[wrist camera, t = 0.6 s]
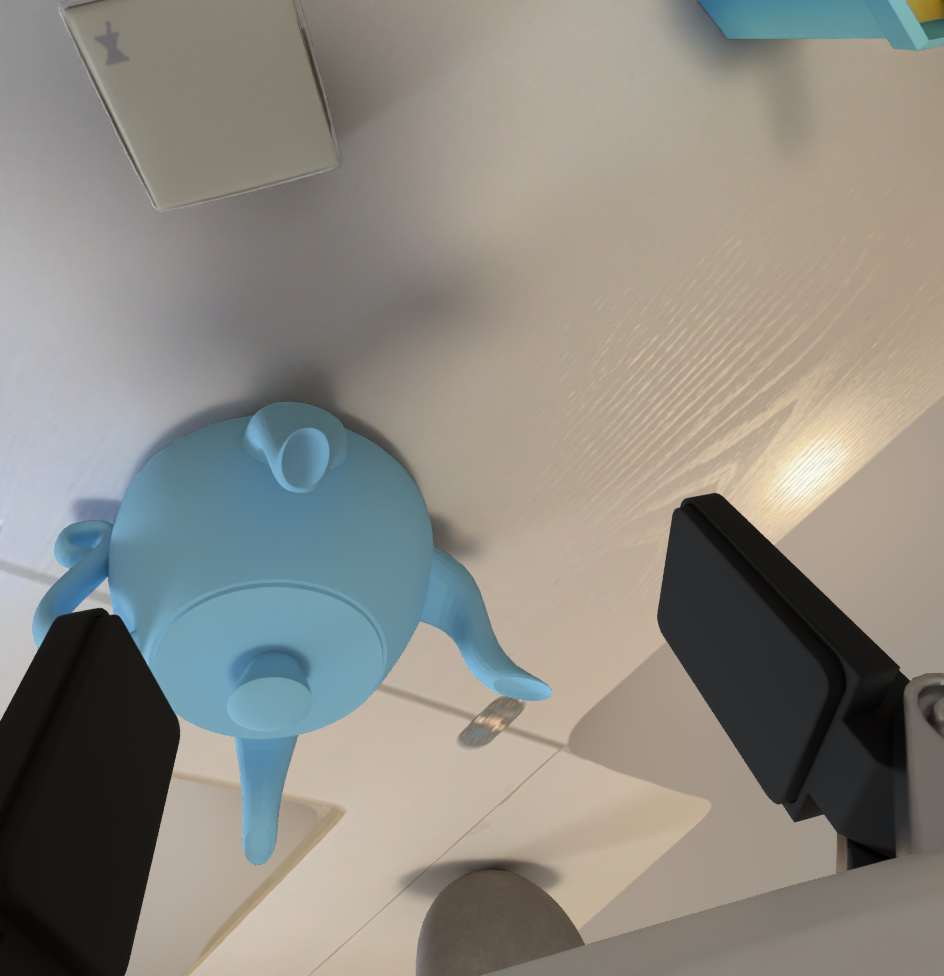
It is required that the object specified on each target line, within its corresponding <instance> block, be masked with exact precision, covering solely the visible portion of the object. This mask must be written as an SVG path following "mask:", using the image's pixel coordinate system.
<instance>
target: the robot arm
mask: <svg viewBox="0 0 944 976" xmlns="http://www.w3.org/2000/svg"><path fill="white" fill-rule="evenodd" d="M657 619H658V624H659V628H660V630H661V633H662V634H663V636H664V638H665V639H666V641H667V642H668V644H669V645H670V647H671V648H672V650H673V651H674V653H675V654H676V656H677V658H678V659H679V661H680V662H681V664H682V665H683V667H684V668H685V670H686V672H687V673H688V674H689V676H690V678H691V679H692V681H693V682H694V684H695V685H696V687H697V688H698V690H699V692H700V693H701V695H702V696H703V698H704V699H705V701H706V702H707V704H708V705H709V707H710V709H711V710H712V712H713V713H714V715H715V716H716V718H717V719H718V721H719V722H720V724H721V725H722V727H723V729H724V730H725V732H726V733H727V735H728V736H729V738H730V739H731V741H732V742H733V744H734V745H735V747H736V749H737V750H738V752H739V753H740V755H741V756H742V758H743V759H744V761H745V762H746V764H747V765H748V767H749V769H750V770H751V772H752V773H753V775H754V776H755V778H756V779H757V781H758V782H759V784H760V785H761V787H762V789H763V790H764V792H765V793H766V794H767V796H768V797H769V798H770V799H771V800H772V801H773V802H774V803H776V804H782V805H783V806H784V807H785V809H786V811H787V812H788V814H789V815H790V817H791V818H792V819H793V821H794V822H797V821H801V820H805V819H809V818H812V817H816V816H819V815H823V814H824V815H825V816H826V818H827V819H828V820H829V822H830V823H831V824H832V826H833V827H834V829H835V830H836V832H837V860H836V864H837V865H836V874H833V875H830V876H826V877H822V878H818V879H814V880H811V881H807V882H803V883H799V884H796V885H792V886H788V887H784V888H781V889H778V890H774V891H770V892H767V893H764V894H760V895H757V896H753V897H750V898H746V899H743V900H740V901H736V902H732V903H729V904H726V905H722V906H718V907H715V908H712V909H708V910H705V911H701V912H698V913H694V914H691V915H687V916H684V917H680V918H677V919H673V920H670V921H666V922H663V923H659V924H656V925H652V926H649V927H646V928H642V929H639V930H635V931H632V932H628V933H625V934H621V935H618V936H614V937H611V938H608V939H604V940H601V941H597V942H594V943H590V944H587V945H584V946H580V947H577V948H573V949H570V950H567V951H563V952H560V953H556V954H553V955H550V956H546V957H543V958H539V959H536V960H532V961H529V962H526V963H522V964H519V965H515V966H512V967H509V968H505V969H502V970H498V971H495V972H492V973H488V974H485V975H481V976H944V673H929V674H928V673H927V674H923V675H921V676H918V677H915V678H913V679H912V680H911V681H910V680H909V679H907V677H906V676H905V675H903V674H902V673H901V672H900V671H899V669H900V667H899V666H898V665H897V664H896V663H895V662H894V661H893V660H892V659H891V658H890V657H889V656H888V655H887V654H886V653H885V652H884V651H883V650H881V648H880V647H879V646H878V645H877V644H875V643H874V642H873V641H872V640H871V639H870V638H869V637H868V636H867V635H866V634H865V633H864V632H863V631H862V630H861V629H860V628H859V627H858V626H857V625H856V624H855V623H854V622H853V621H852V620H851V619H849V617H847V616H846V615H845V614H844V613H843V612H842V611H841V610H840V609H839V608H838V607H837V606H836V605H835V604H834V603H833V602H832V601H831V600H830V599H829V598H828V597H827V596H825V594H824V593H823V592H821V591H820V590H819V589H818V588H817V587H816V586H815V585H814V584H813V583H812V582H811V581H810V580H809V579H808V578H807V577H806V576H805V575H804V574H803V573H802V572H801V571H800V570H799V569H798V568H797V567H796V566H795V565H793V564H792V563H791V562H790V561H789V560H788V559H787V558H786V557H785V556H784V555H783V554H782V553H781V552H780V551H779V550H778V549H777V548H776V547H775V546H774V545H773V544H772V543H771V542H770V541H769V540H768V539H766V538H765V537H764V536H763V535H762V534H761V533H760V532H759V531H758V530H757V529H756V528H755V527H754V526H753V525H752V524H751V523H750V522H749V521H748V520H747V519H746V518H745V517H744V516H743V515H742V514H741V513H739V512H738V511H737V510H736V509H735V508H734V507H733V506H732V505H731V504H730V503H729V502H728V501H727V500H726V499H725V498H724V497H723V496H721V495H720V494H717V493H712V494H706V495H701V496H696V497H690V498H686V499H684V500H683V501H682V503H681V506H680V508H677V509H675V510H674V512H673V515H672V522H671V528H670V535H669V541H668V548H667V554H666V561H665V568H664V574H663V581H662V587H661V594H660V600H659V607H658V614H657ZM179 740H180V726H179V721H178V719H177V716H176V715H175V713H174V711H173V709H172V707H171V706H170V704H169V702H168V700H167V698H166V697H165V695H164V693H163V691H162V690H161V688H160V686H159V684H158V682H157V681H156V679H155V677H154V675H153V674H152V672H151V670H150V668H149V666H148V665H147V663H146V661H145V659H144V658H143V656H142V654H141V652H140V650H139V649H138V647H137V645H136V643H135V641H134V640H133V638H132V636H131V634H130V633H129V631H128V629H127V627H126V625H125V624H124V622H123V620H122V619H121V617H120V616H118V615H109V614H108V612H107V611H106V610H104V609H103V608H96V609H90V610H85V611H80V612H74V613H69V614H64V615H60V616H58V617H57V618H56V619H55V620H54V621H53V623H52V625H51V626H50V628H49V630H48V632H47V634H46V636H45V638H44V640H43V642H42V643H41V645H40V647H39V649H38V651H37V653H36V655H35V657H34V659H33V660H32V662H31V664H30V666H29V668H28V670H27V672H26V674H25V676H24V677H23V679H22V681H21V683H20V685H19V687H18V689H17V691H16V693H15V694H14V696H13V698H12V700H11V702H10V704H9V706H8V708H7V710H6V711H5V713H4V715H3V717H2V719H1V721H0V976H124V975H125V973H126V971H127V967H128V964H129V960H130V955H131V951H132V946H133V942H134V938H135V933H136V929H137V924H138V920H139V916H140V911H141V907H142V902H143V898H144V894H145V890H146V885H147V880H148V876H149V872H150V867H151V863H152V859H153V855H154V850H155V846H156V841H157V837H158V832H159V828H160V823H161V819H162V815H163V811H164V806H165V802H166V798H167V793H168V789H169V784H170V780H171V776H172V771H173V767H174V763H175V758H176V754H177V749H178V745H179Z"/></svg>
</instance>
